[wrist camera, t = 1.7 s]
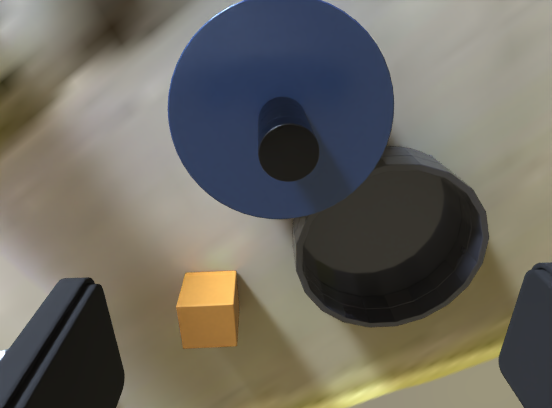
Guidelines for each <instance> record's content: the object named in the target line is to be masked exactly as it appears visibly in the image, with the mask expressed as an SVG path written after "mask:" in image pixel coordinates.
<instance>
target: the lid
mask: <svg viewBox="0 0 552 408" xmlns="http://www.w3.org/2000/svg"><path fill="white" fill-rule="evenodd" d="M393 116H394V95H393V86H392V81H391V77H390V73H389V70H388V67H387V64H386V62H385V59H384V57H383V55H382V53H381V51H380V50H379V48H378V46H377V44H376V43H375V42H374V40H373V39H372V37H371V36H370V35H369V33H368V32H367V31H366V30H365V29H364V28H363V27H362V26H361V25H360V24H359V23H358V22H357V21H356V20H355V19H353V18H352V17H351V16H349V15H348V14H347V13H345V12H344V11H342V10H341V9H339V8H337V7H335V6H333V5H331V4H329V3H327V2H324V1H322V0H244V1H241V2H239V3H236V4H234V5H231V6H230V7H228V8H226V9H225V10H223V11H221V12H220V13H218V14H217V15H215V16H214V17H213V18H212V19H210V20H209V21H208V22H207V23H205V24H204V25H203V26H202V27H201V28H200V30H199V31H198V32H197V33H196V34H195V35H194V36H193V37H192V39H191V40H190V42H189V43H188V44H187V46H186V47H185V49H184V50H183V52H182V54H181V56H180V58H179V60H178V62H177V64H176V67H175V70H174V73H173V76H172V79H171V84H170V89H169V96H168V119H169V127H170V132H171V137H172V140H173V143H174V146H175V149H176V151H177V154H178V155H179V157H180V159H181V161H182V163H183V165H184V167H185V168H186V170H187V171H188V173H189V174H190V176H191V177H192V178H193V179H194V180H195V181H196V183H197V184H198V185H199V186H200V187H201V188H202V189H203V190H205V191H206V192H207V193H208V194H209V195H210V196H212V197H213V198H215V199H216V200H217V201H219V202H220V203H222V204H224V205H226V206H228V207H229V208H231V209H234V210H236V211H239V212H241V213H244V214H247V215H251V216H255V217H260V218H267V219H290V218H298V217H303V216H308V215H311V214H314V213H317V212H320V211H323V210H325V209H327V208H329V207H331V206H333V205H335V204H337V203H338V202H340V201H342V200H343V199H345V198H346V197H347V196H349V195H350V194H351V193H352V192H354V191H355V190H356V189H357V188H358V187H359V186H360V185H361V184H362V183H363V182H364V181H365V180H366V179H367V177H368V176H369V175H370V174H371V172H372V171H373V170H374V168H375V167H376V165H377V163H378V162H379V160H380V158H381V156H382V154H383V152H384V150H385V147H386V145H387V142H388V139H389V136H390V133H391V128H392V122H393Z"/></svg>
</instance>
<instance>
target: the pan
mask: <svg viewBox="0 0 552 408" xmlns="http://www.w3.org/2000/svg"><path fill="white" fill-rule="evenodd" d="M292 236H293V252H294V259H295V266H296V271H297V274H298V276H299V279H300V281H301V284H302V286H303V289H304V291H305V293H306V294H307V295H308V296H309V298H310V299H311V300H312V301H313V302H314V303H315V304H316V305H317V306H318V307H319V308H320V309H321V310H322V311H323V312H325V313H327V314H329V315H331V316H333V317H335V318H337V319H338V320H340V321H342V322H345V323H350V324H355V325H360V326H364V327H389V326H398V325H402V324H405V323H409V322H412V321H416V320H420V319H423V318H425V317H427V316H428V315H430V314H432V313H434V312H436V311H438V310H439V309H441V308H443V307H445V306H447V305H448V304H449V303H450V302H451V301H453V300H454V299H455V298H456V297H457V296H458V295H459V294H460V293H461V292H462V291H463V290H465V289H466V288H467V287H468V286H469V284H470V283H471V281H472V279H473V278H474V276H475V275H476V273H477V271H478V270H479V268H480V267H481V265H482V263H483V260H484V256H485V252H486V248H487V244H488V240H489V232H488V224H487V216H486V211H485V209H484V208H483V206H482V204H481V202H480V201H479V199H478V197H477V196H476V194H475V192H474V190H473V189H472V188H471V187H470V186H468V185H467V184H466V183H465V182H464V181H463V180H461V179H460V178H459V177H458V176H457V175H456V174H454V173H453V172H452V171H451V170H450V169H448V168H447V167H446V166H444V165H443V164H442V163H440V162H439V161H438V160H436V159H435V158H433V157H432V156H430V155H427V154H425V153H423V152H421V151H417V150H414V149H411V148H405V147H397V146H386V147H385V150H384V152H383V154H382V156H381V158H380V160H379V162H378V163H377V165H376V167H375V168H374V170H373V171H372V172H371V174H370V175H369V176H368V177H367V179H366V180H365V181H364V182H363V183H362V184H361V185H360V186H359V187H358V188H357V189H356V190H355V191H354V192H352V193H351V194H350V195H349V196H347V197H346V198H345V199H343V200H342V201H340V202H338V203H337V204H335V205H333V206H331V207H329V208H327V209H325V210H323V211H320V212H317V213H314V214H311V215H308V216H303V217H298V218H294V219H293V228H292Z"/></svg>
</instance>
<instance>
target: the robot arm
mask: <svg viewBox="0 0 552 408" xmlns="http://www.w3.org/2000/svg"><path fill="white" fill-rule="evenodd" d="M499 367H500V370H501V373H502V374H503V376H504V378H505V379H506V381H507V382H508V384H509V385H510V387H511V388H512V390H513V391H514V393H515V394H516V396H517V397H518V399H519V400H520V402H521V403H522V405H523V407H524V408H552V263H538V264H536V265H534V266H533V268H532V270H529V271H528V272H527V273H526V274H525V277H524V280H523V283H522V286H521V289H520V293H519V296H518V299H517V302H516V305H515V308H514V311H513V314H512V318H511V321H510V324H509V327H508V330H507V333H506V336H505V339H504V343H503V346H502V349H501V352H500V355H499ZM123 386H124V369H123V365H122V361H121V357H120V353H119V350H118V346H117V342H116V338H115V334H114V330H113V326H112V322H111V318H110V314H109V311H108V307H107V303H106V299H105V295H104V291H103V288H102V286H101V285H100V284H95V283H94V281H93V280H92V278H64V279H61V280H60V281H59V282H58V283H57V284H56V286H55V287H54V288H53V290H52V291H51V292H50V294H49V295H48V296H47V298H46V299H45V301H44V302H43V303H42V305H41V306H40V307H39V309H38V310H37V311H36V313H35V314H34V316H33V317H32V318H31V320H30V321H29V322H28V324H27V325H26V326H25V328H24V329H23V331H22V332H21V333H20V335H19V336H18V337H17V339H16V340H15V341H14V343H13V344H12V346H11V347H10V348H9V350H8V351H7V352H6V353H5V354H4V356H3V357H2V358H1V360H0V408H116V406H117V404H118V401H119V398H120V395H121V392H122V390H123Z"/></svg>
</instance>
